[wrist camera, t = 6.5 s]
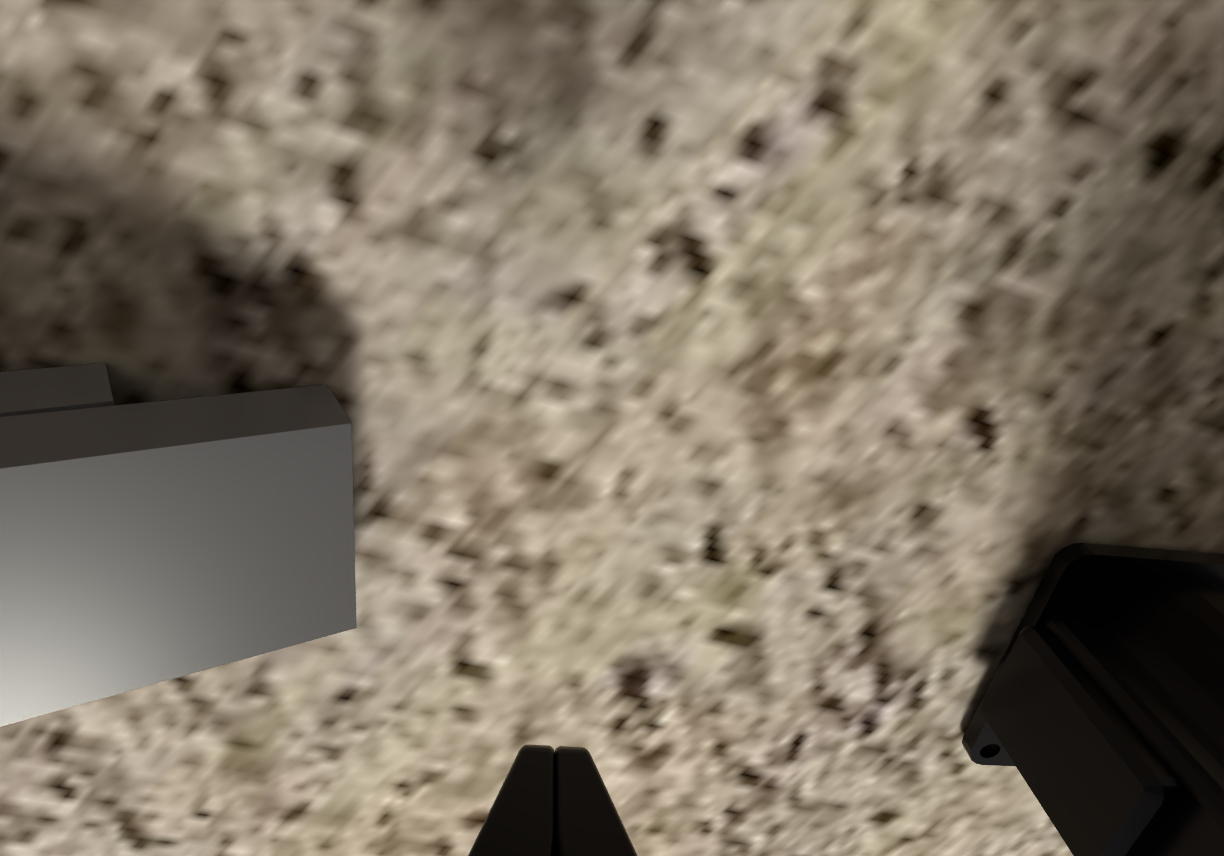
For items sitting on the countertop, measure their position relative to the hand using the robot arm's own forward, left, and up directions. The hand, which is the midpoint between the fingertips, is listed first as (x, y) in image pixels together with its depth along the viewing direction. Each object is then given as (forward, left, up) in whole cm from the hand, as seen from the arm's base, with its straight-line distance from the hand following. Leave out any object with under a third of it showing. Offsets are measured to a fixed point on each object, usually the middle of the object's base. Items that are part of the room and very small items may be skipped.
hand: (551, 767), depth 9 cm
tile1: (+4, 0, -5) cm, 7 cm away
